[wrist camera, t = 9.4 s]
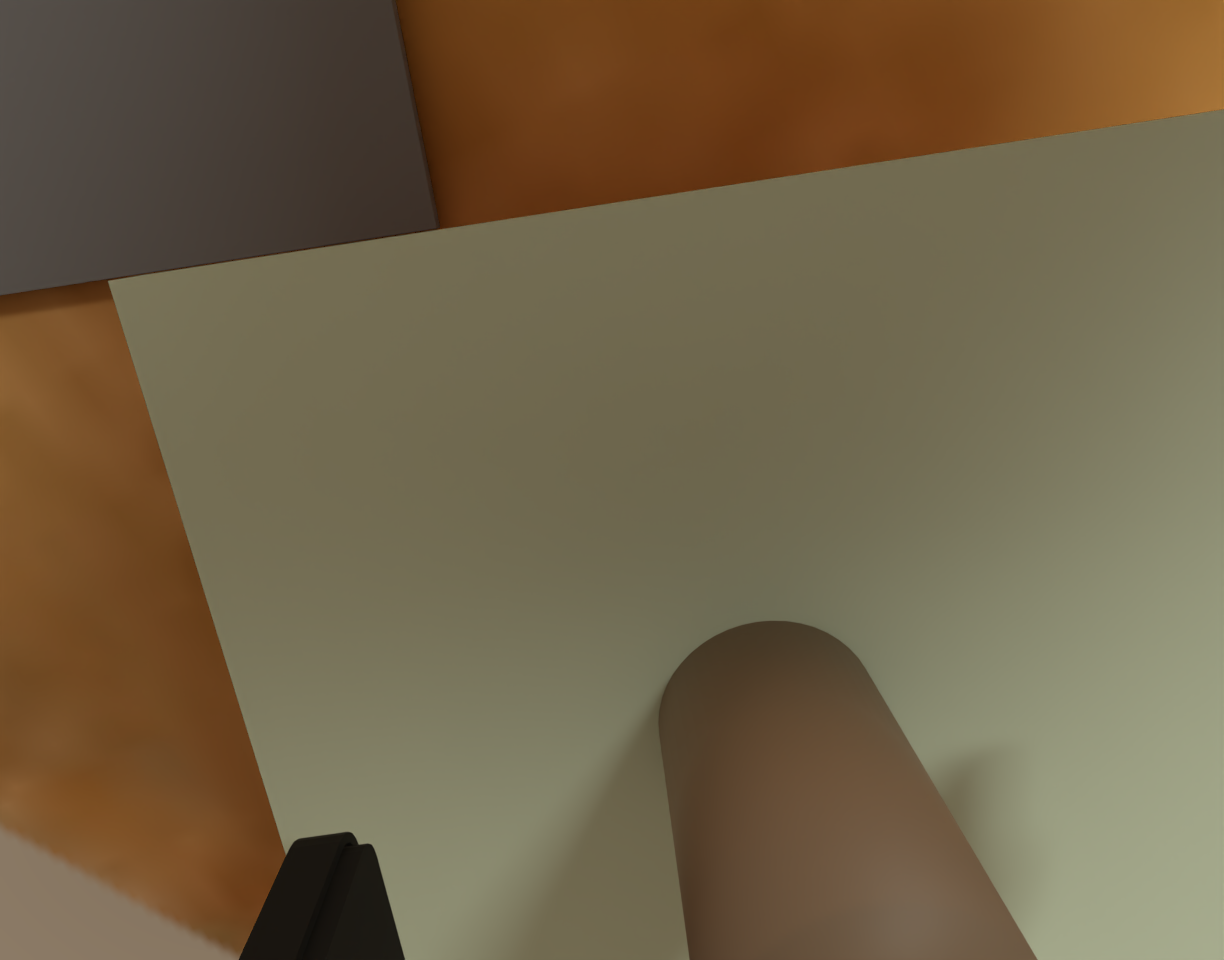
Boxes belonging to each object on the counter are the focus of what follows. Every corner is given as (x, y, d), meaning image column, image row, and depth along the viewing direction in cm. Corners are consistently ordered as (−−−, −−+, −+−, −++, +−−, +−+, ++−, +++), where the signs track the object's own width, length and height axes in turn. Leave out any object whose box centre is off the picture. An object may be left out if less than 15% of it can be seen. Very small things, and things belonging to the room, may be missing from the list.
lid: (140, 275, 11) (-300, 353, 6) (1276, 101, 11) (1989, 3, 5) (389, 1106, 15) (278, 1617, 10) (1212, 994, 15) (1574, 1456, 10)
